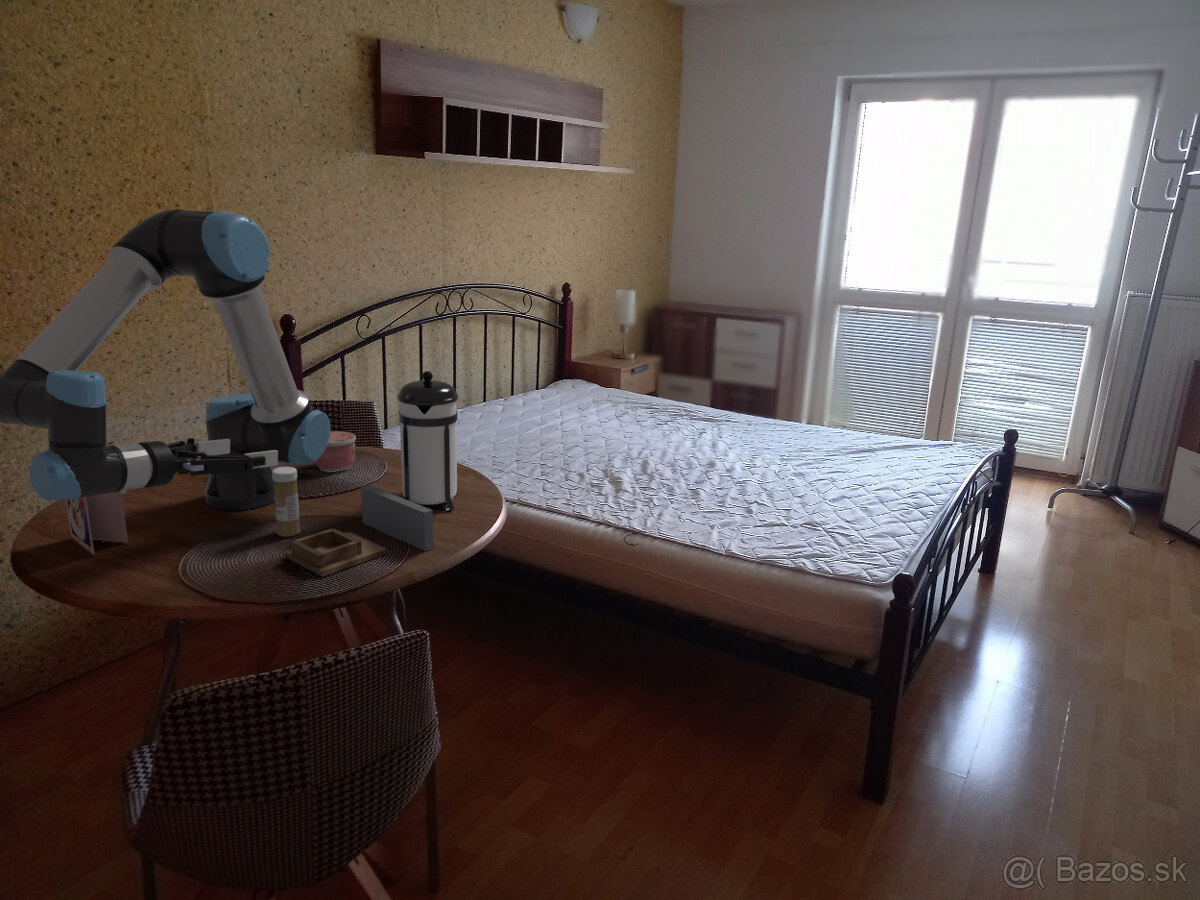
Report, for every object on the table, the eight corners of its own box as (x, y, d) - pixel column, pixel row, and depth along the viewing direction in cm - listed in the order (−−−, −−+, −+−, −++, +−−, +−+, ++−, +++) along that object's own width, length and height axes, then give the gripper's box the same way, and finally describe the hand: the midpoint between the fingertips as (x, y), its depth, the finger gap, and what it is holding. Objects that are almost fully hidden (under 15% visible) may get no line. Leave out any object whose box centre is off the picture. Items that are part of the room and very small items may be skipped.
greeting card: (66, 540, 158) (54, 465, 154) (108, 529, 163) (98, 457, 159) (89, 558, 151) (77, 480, 147) (132, 546, 156) (122, 471, 152)
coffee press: (480, 503, 186) (480, 372, 177) (420, 520, 175) (417, 381, 166) (436, 483, 197) (434, 359, 189) (377, 497, 186) (372, 367, 178)
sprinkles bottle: (272, 533, 165) (267, 469, 161) (293, 527, 169) (288, 464, 165) (284, 539, 162) (279, 474, 159) (305, 533, 166) (301, 469, 162)
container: (333, 477, 198) (331, 445, 196) (303, 468, 204) (301, 437, 201) (366, 466, 207) (364, 436, 205) (337, 458, 212) (335, 428, 210)
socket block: (322, 576, 147) (321, 558, 146) (285, 557, 154) (283, 539, 153) (386, 553, 158) (386, 536, 157) (349, 536, 165) (348, 519, 164)
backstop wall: (425, 551, 160) (424, 512, 158) (362, 523, 172) (360, 487, 169) (433, 548, 161) (432, 510, 159) (370, 521, 173) (369, 485, 171)
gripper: (98, 474, 143) (210, 460, 161) (187, 501, 130) (297, 483, 149) (97, 431, 141) (210, 422, 160) (187, 455, 129) (298, 442, 147)
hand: (252, 451), depth 154 cm, fingers open, 13 cm apart
